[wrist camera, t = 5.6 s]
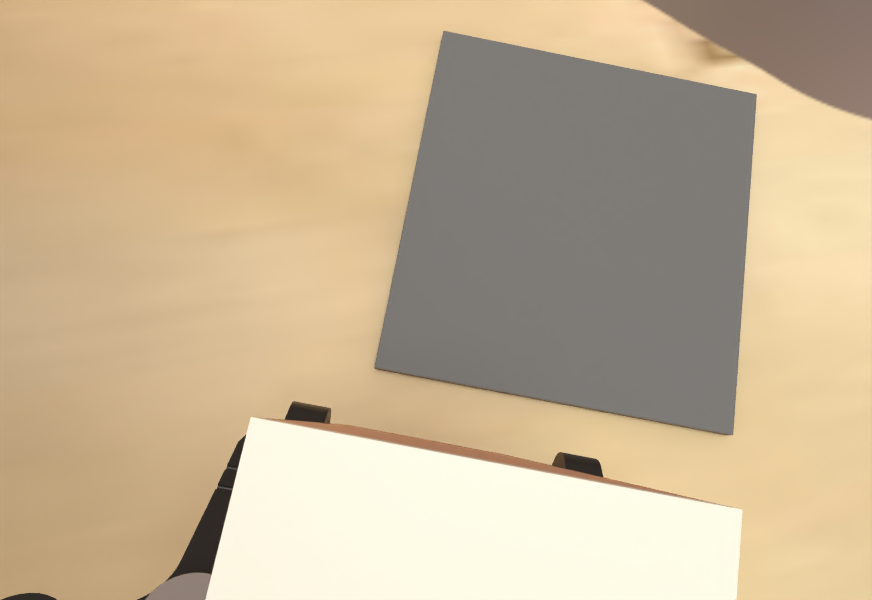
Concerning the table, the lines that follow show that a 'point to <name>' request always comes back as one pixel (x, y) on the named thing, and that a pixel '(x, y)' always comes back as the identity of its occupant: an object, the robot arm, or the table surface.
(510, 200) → the charcoal mat
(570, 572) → the terracotta block
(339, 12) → the table surface
